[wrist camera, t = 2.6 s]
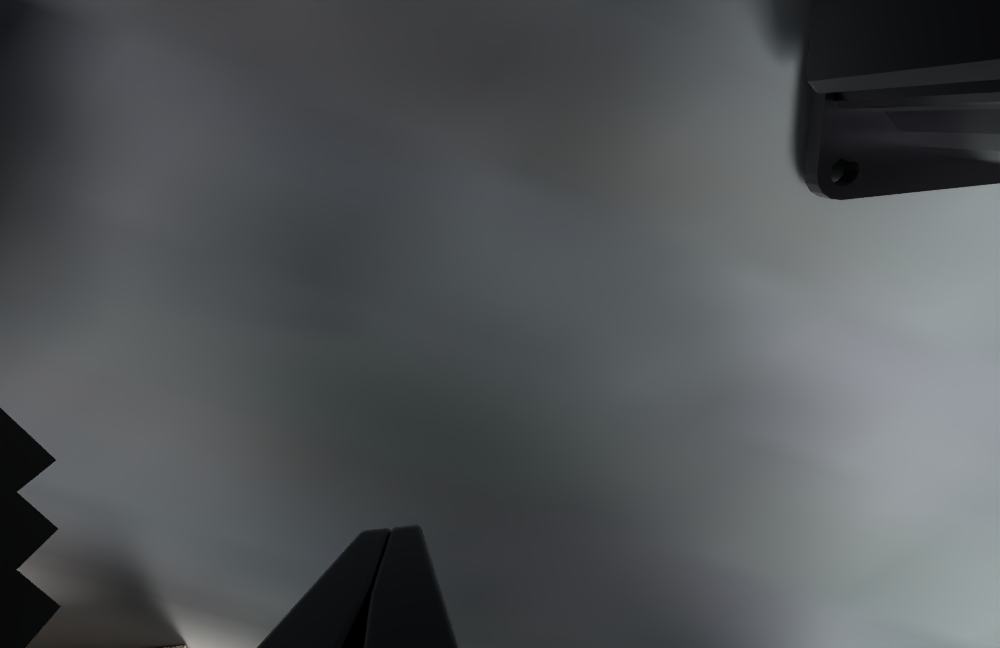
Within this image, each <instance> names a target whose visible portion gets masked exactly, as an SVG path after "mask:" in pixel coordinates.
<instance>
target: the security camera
mask: <svg viewBox="0 0 1000 648" xmlns="http://www.w3.org/2000/svg"><path fill="white" fill-rule="evenodd" d="M55 461H56V460H55V459H54V458H53V457H52V456H51V455H50V454H49V453H48V452H47V451H46V450H45V449H44V448H43V447H42V446H41V445H39V444H38V443H37V442H36V441H35V440H34V439H33V438H32V437H31V436H30V435H29V434H28V433H27V432H26V431H25V430H23V429H22V428H21V427H20V426H19V425H18V424H17V423H16V422H15V421H14V420H13V419H12V418H11V417H10V416H9V415H7V414H6V413H5V412H4V411H3V410H2V409H1V408H0V648H25V647H26V646H27V645H28V644H29V643H30V641H31V640H32V639H33V638H34V637H35V636H36V634H37V633H38V632H39V631H40V630H41V629H42V627H43V626H44V625H45V624H46V623H47V622H48V620H49V619H50V618H51V617H52V616H53V615H54V614H55V612H56V611H57V610H58V609H59V608H60V607H61V606H60V605H58V604H57V603H56V602H55V601H54V600H52V599H51V598H50V597H49V596H48V595H46V594H45V593H44V592H43V591H41V590H40V589H39V588H38V587H37V586H35V585H34V584H33V583H32V582H31V581H29V580H28V579H27V578H26V577H25V576H23V575H22V574H21V573H20V572H19V571H17V570H16V569H17V568H19V567H20V566H21V565H22V564H23V563H24V562H25V561H26V560H27V559H28V558H29V557H30V556H31V555H32V554H33V553H34V552H35V551H36V550H37V549H38V548H39V547H40V546H41V545H42V544H43V543H44V542H45V541H46V540H47V539H48V538H49V537H50V536H51V535H53V534H54V533H55V532H56V531H57V530H58V528H57V527H56V526H54V525H53V524H52V523H51V522H50V521H49V520H48V519H47V518H45V517H44V516H43V515H42V514H41V513H40V512H39V511H37V510H36V509H35V508H34V507H33V506H32V505H31V504H30V503H28V502H27V501H26V500H25V499H24V498H23V497H22V496H21V495H19V494H18V493H17V491H18V490H20V489H21V488H22V487H23V486H25V485H26V484H27V483H28V482H30V481H31V480H32V479H33V478H35V477H36V476H37V475H38V474H40V473H41V472H42V471H43V470H45V469H46V468H47V467H48V466H50V465H51V464H52V463H53V462H55Z"/></svg>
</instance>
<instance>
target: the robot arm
mask: <svg viewBox="0 0 1000 648" xmlns="http://www.w3.org/2000/svg"><path fill="white" fill-rule="evenodd" d="M806 79H807V81H808V82H809V84H810V85H811V87H812V88H813V89H812V99H811V109H810V120H809V130H808V141H807V151H806V162H805V172H804V173H805V183H806V184H807V186H808V188H809V189H810V191H811V192H813V193H814V194H816V195H818V196H821V197H825V198H830V199H838V200H845V199H854V198H864V197H873V196H883V195H892V194H902V193H911V192H921V191H930V190H940V189H949V188H959V187H968V186H978V185H987V184H997V183H1000V0H813V6H812V17H811V28H810V39H809V50H808V61H807V72H806ZM841 158H842V159H843V160H844V162H845V170H844V173H843V176H842V177H841V178H840V179H839V180H838V181H836V182H833V181H832V180H831V174H830V173H831V170H832V167H833V165H834V164H835V163H836V162H837V161H838V160H839V159H841ZM257 648H459V646H458V643H457V640H456V637H455V634H454V630H453V627H452V624H451V621H450V618H449V615H448V611H447V608H446V605H445V602H444V599H443V596H442V592H441V589H440V586H439V583H438V580H437V577H436V573H435V570H434V567H433V564H432V561H431V558H430V554H429V551H428V548H427V545H426V542H425V539H424V535H423V532H422V529H421V527H420V526H418V525H412V526H402V527H395V528H394V529H393V530H392V531H391V530H390V529H388V528H383V529H373V530H366V531H363V532H361V533H360V534H359V535H358V536H357V537H356V538H355V540H354V541H353V542H352V543H351V544H350V545H349V546H348V547H347V548H346V549H345V551H344V552H343V553H342V554H341V555H340V556H339V557H338V558H337V559H336V561H335V562H334V563H333V564H332V565H331V566H330V567H329V568H328V569H327V571H326V572H325V573H324V574H323V575H322V576H321V577H320V578H319V579H318V581H317V582H316V583H315V584H314V585H313V586H312V587H311V588H310V589H309V591H308V592H307V593H306V594H305V595H304V596H303V597H302V598H301V599H300V600H299V602H298V603H297V604H296V605H295V606H294V607H293V608H292V609H291V610H290V612H289V613H288V614H287V615H286V616H285V617H284V618H283V619H282V620H281V622H280V623H279V624H278V625H277V626H276V627H275V628H274V629H273V630H272V632H271V633H270V634H269V635H268V636H267V637H266V638H265V639H264V640H263V641H262V643H261V644H260V645H259V646H258V647H257Z"/></svg>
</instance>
